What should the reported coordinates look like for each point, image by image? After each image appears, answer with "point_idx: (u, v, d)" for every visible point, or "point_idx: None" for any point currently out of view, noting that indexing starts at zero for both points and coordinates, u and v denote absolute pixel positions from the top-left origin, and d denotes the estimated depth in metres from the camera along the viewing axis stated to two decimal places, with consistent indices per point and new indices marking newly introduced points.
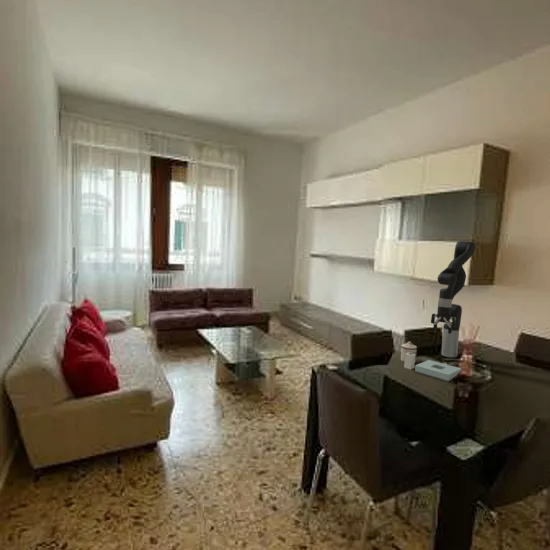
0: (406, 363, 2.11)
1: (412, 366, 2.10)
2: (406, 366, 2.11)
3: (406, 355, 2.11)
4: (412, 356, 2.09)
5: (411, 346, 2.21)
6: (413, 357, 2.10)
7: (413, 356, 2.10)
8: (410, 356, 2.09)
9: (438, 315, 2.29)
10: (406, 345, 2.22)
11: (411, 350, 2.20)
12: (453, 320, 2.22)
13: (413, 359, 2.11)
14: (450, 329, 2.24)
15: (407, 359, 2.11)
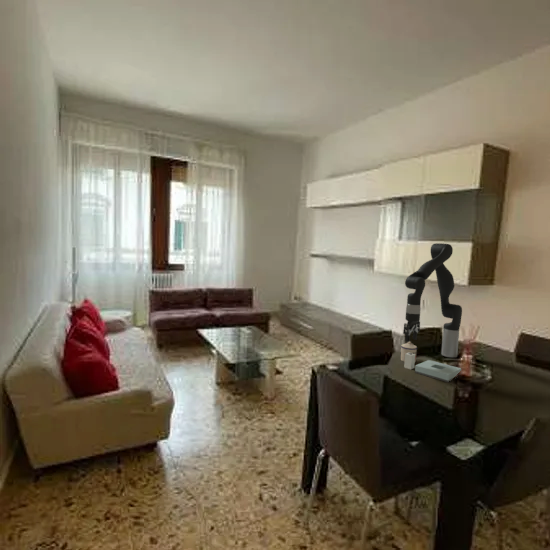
0: (406, 363, 2.11)
1: (412, 366, 2.10)
2: (406, 366, 2.11)
3: (406, 355, 2.11)
4: (412, 356, 2.09)
5: (411, 346, 2.21)
6: (413, 357, 2.10)
7: (413, 356, 2.10)
8: (410, 356, 2.09)
9: (411, 324, 2.07)
10: (406, 345, 2.22)
11: (411, 350, 2.20)
12: (419, 324, 2.13)
13: (413, 359, 2.11)
14: None
15: (407, 359, 2.11)
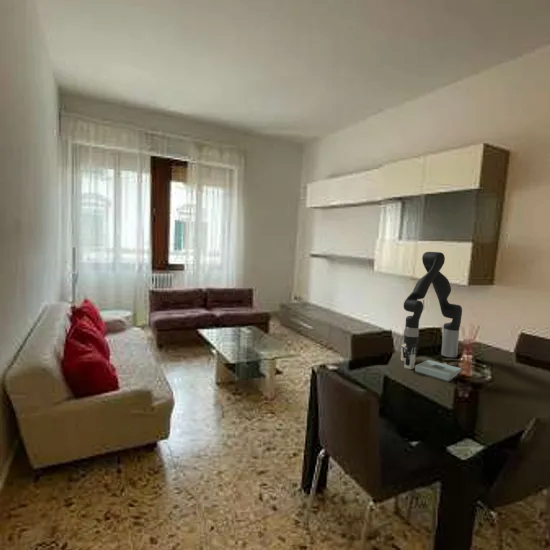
0: None
1: (412, 366, 2.10)
2: (406, 366, 2.11)
3: None
4: (412, 356, 2.09)
5: None
6: (413, 357, 2.10)
7: (413, 356, 2.10)
8: (410, 356, 2.09)
9: (409, 346, 2.08)
10: None
11: None
12: (417, 348, 2.14)
13: (413, 359, 2.11)
14: None
15: None
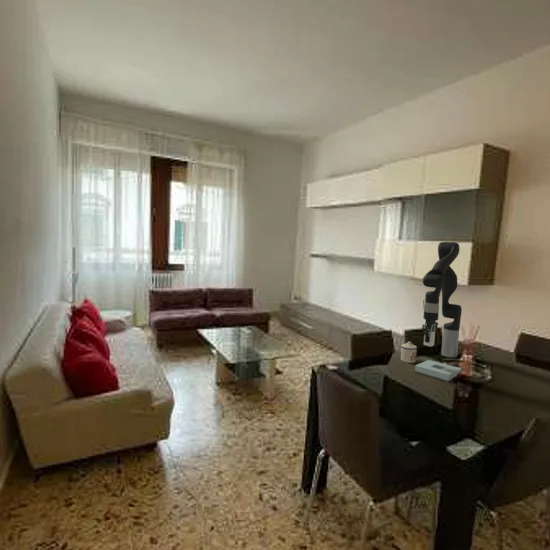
0: None
1: (432, 343, 2.04)
2: (426, 343, 2.04)
3: None
4: (432, 333, 2.02)
5: (411, 346, 2.21)
6: (433, 334, 2.03)
7: (433, 333, 2.03)
8: (430, 333, 2.02)
9: (429, 323, 2.01)
10: (406, 345, 2.22)
11: (411, 350, 2.20)
12: (437, 326, 2.07)
13: (433, 336, 2.04)
14: None
15: None
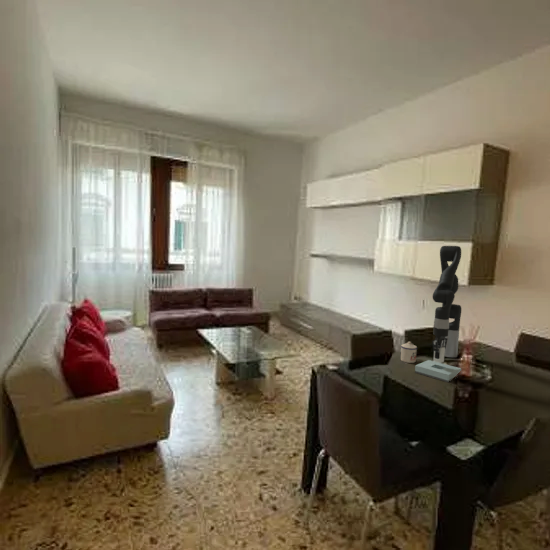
0: None
1: (442, 359, 2.01)
2: (435, 360, 2.01)
3: None
4: (442, 349, 2.00)
5: (411, 346, 2.21)
6: (443, 350, 2.01)
7: (443, 349, 2.00)
8: (440, 349, 2.00)
9: (440, 339, 1.99)
10: (406, 345, 2.22)
11: (411, 350, 2.20)
12: (446, 341, 2.04)
13: (443, 352, 2.01)
14: None
15: None
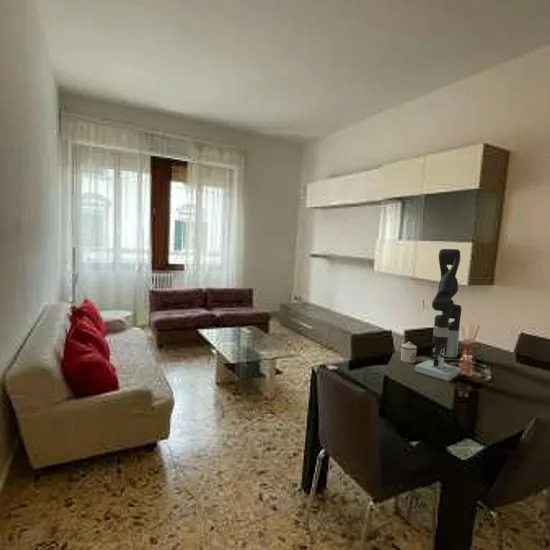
0: (435, 367, 2.02)
1: None
2: None
3: None
4: (441, 360, 2.00)
5: (411, 346, 2.21)
6: (442, 361, 2.01)
7: (442, 360, 2.01)
8: (439, 360, 2.00)
9: (439, 347, 1.99)
10: (406, 345, 2.22)
11: (411, 350, 2.20)
12: (446, 348, 2.05)
13: (442, 363, 2.02)
14: None
15: None
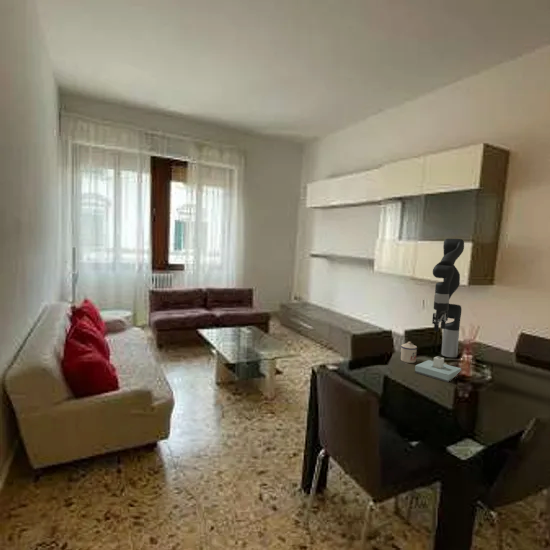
0: (435, 367, 2.02)
1: None
2: None
3: (435, 359, 2.02)
4: (441, 360, 2.00)
5: (411, 346, 2.21)
6: (442, 361, 2.01)
7: (442, 360, 2.01)
8: (439, 360, 2.00)
9: (440, 313, 2.04)
10: (406, 345, 2.22)
11: (411, 350, 2.20)
12: (447, 313, 2.10)
13: (442, 363, 2.02)
14: None
15: (436, 363, 2.02)
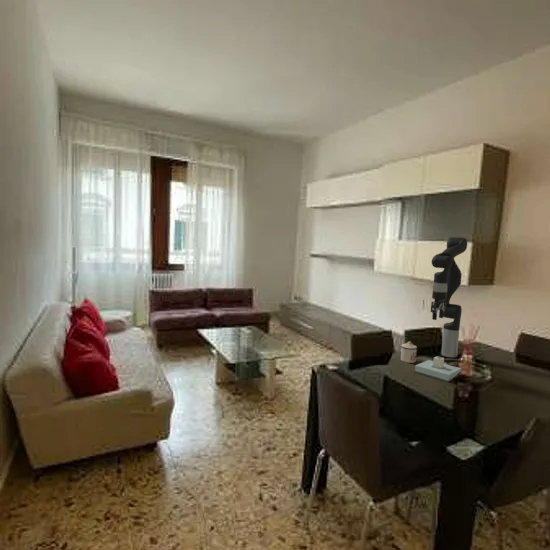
0: (435, 367, 2.02)
1: None
2: None
3: (435, 359, 2.02)
4: (441, 360, 2.00)
5: (411, 346, 2.21)
6: (442, 361, 2.01)
7: (442, 360, 2.01)
8: (439, 360, 2.00)
9: (438, 302, 2.10)
10: (406, 345, 2.22)
11: (411, 350, 2.20)
12: (445, 303, 2.16)
13: (442, 363, 2.02)
14: None
15: (436, 363, 2.02)
